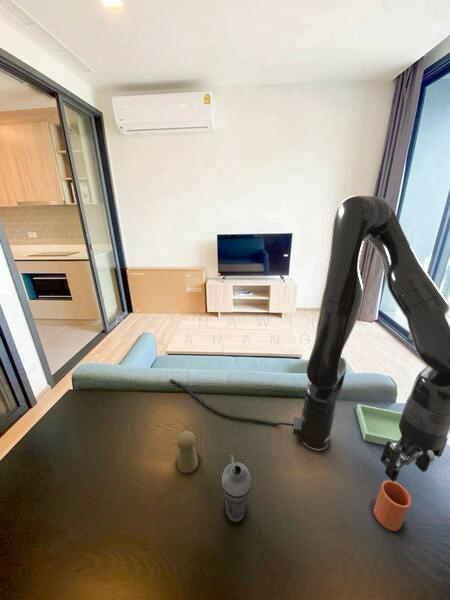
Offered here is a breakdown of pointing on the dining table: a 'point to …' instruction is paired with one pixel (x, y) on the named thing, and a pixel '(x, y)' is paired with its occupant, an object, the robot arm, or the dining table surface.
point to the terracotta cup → (392, 505)
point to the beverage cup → (236, 489)
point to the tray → (379, 424)
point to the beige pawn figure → (187, 452)
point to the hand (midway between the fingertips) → (405, 472)
